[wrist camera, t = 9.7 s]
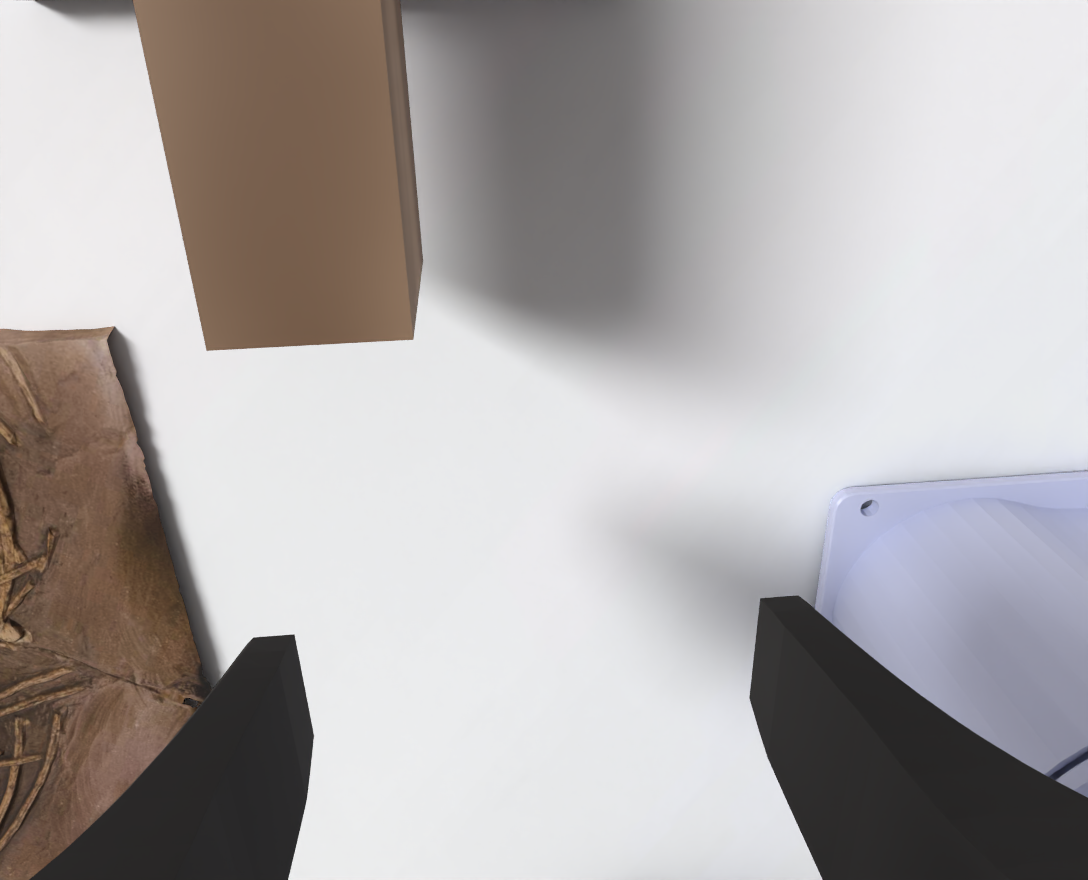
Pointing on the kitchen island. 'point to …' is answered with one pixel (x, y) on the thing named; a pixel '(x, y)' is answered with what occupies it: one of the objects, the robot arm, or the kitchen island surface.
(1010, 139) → the kitchen island surface
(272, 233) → the walnut beam
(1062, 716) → the robot arm
